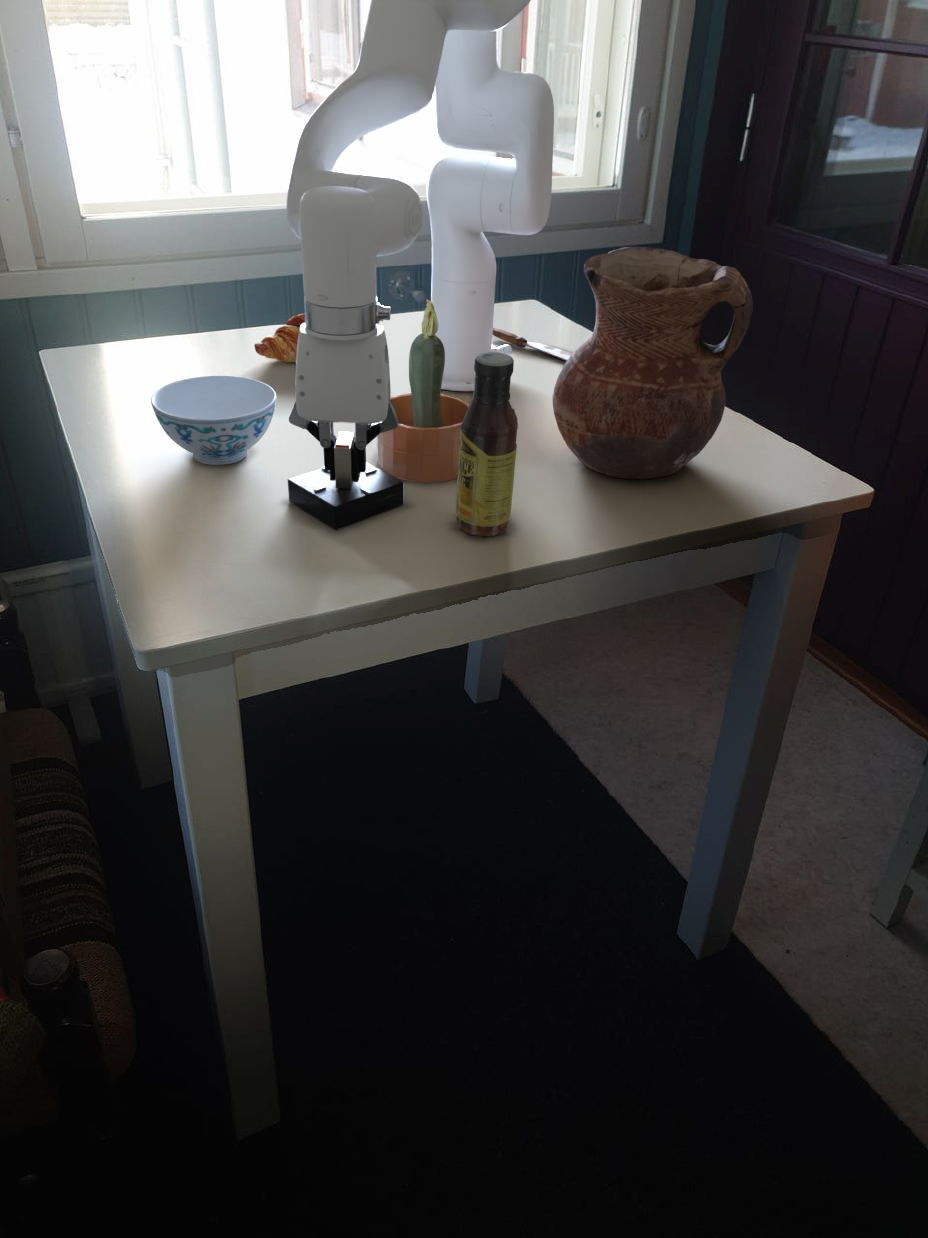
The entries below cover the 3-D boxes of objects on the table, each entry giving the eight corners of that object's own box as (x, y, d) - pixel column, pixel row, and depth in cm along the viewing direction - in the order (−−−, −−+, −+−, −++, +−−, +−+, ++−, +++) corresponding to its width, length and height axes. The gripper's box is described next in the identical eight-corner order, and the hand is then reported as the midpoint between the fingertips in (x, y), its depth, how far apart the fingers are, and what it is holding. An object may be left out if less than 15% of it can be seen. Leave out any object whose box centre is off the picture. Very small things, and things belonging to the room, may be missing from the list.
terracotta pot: (428, 435, 131) (429, 385, 127) (491, 465, 124) (495, 413, 120) (357, 458, 124) (356, 406, 120) (420, 491, 116) (421, 437, 113)
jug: (567, 496, 117) (591, 286, 103) (530, 429, 134) (547, 240, 120) (739, 490, 120) (785, 286, 107) (682, 425, 138) (714, 242, 124)
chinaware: (178, 428, 129) (171, 372, 125) (289, 434, 129) (286, 378, 125) (144, 476, 117) (134, 416, 113) (267, 482, 117) (262, 422, 112)
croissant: (364, 359, 166) (353, 312, 164) (392, 346, 157) (381, 297, 156) (250, 377, 155) (237, 327, 153) (274, 365, 146) (260, 311, 145)
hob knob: (340, 471, 113) (339, 429, 110) (355, 471, 113) (354, 429, 110) (335, 488, 109) (334, 445, 107) (351, 488, 109) (350, 446, 107)
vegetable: (437, 468, 121) (441, 308, 110) (404, 464, 122) (405, 305, 111) (445, 454, 125) (450, 298, 114) (412, 450, 126) (414, 295, 115)
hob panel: (356, 479, 119) (355, 455, 117) (403, 504, 113) (403, 480, 112) (288, 502, 113) (287, 477, 111) (335, 530, 107) (334, 505, 106)
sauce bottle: (453, 513, 112) (460, 345, 101) (506, 513, 113) (519, 346, 102) (457, 541, 107) (465, 366, 96) (513, 541, 107) (527, 367, 96)
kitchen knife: (600, 359, 158) (582, 362, 155) (598, 369, 159) (580, 372, 156) (507, 324, 170) (488, 325, 167) (505, 333, 171) (486, 335, 167)
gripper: (418, 309, 104) (416, 465, 114) (271, 302, 104) (282, 459, 114) (414, 330, 98) (412, 493, 108) (258, 323, 98) (271, 487, 108)
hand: (345, 475), depth 111 cm, fingers closed on hob knob, 2 cm apart
